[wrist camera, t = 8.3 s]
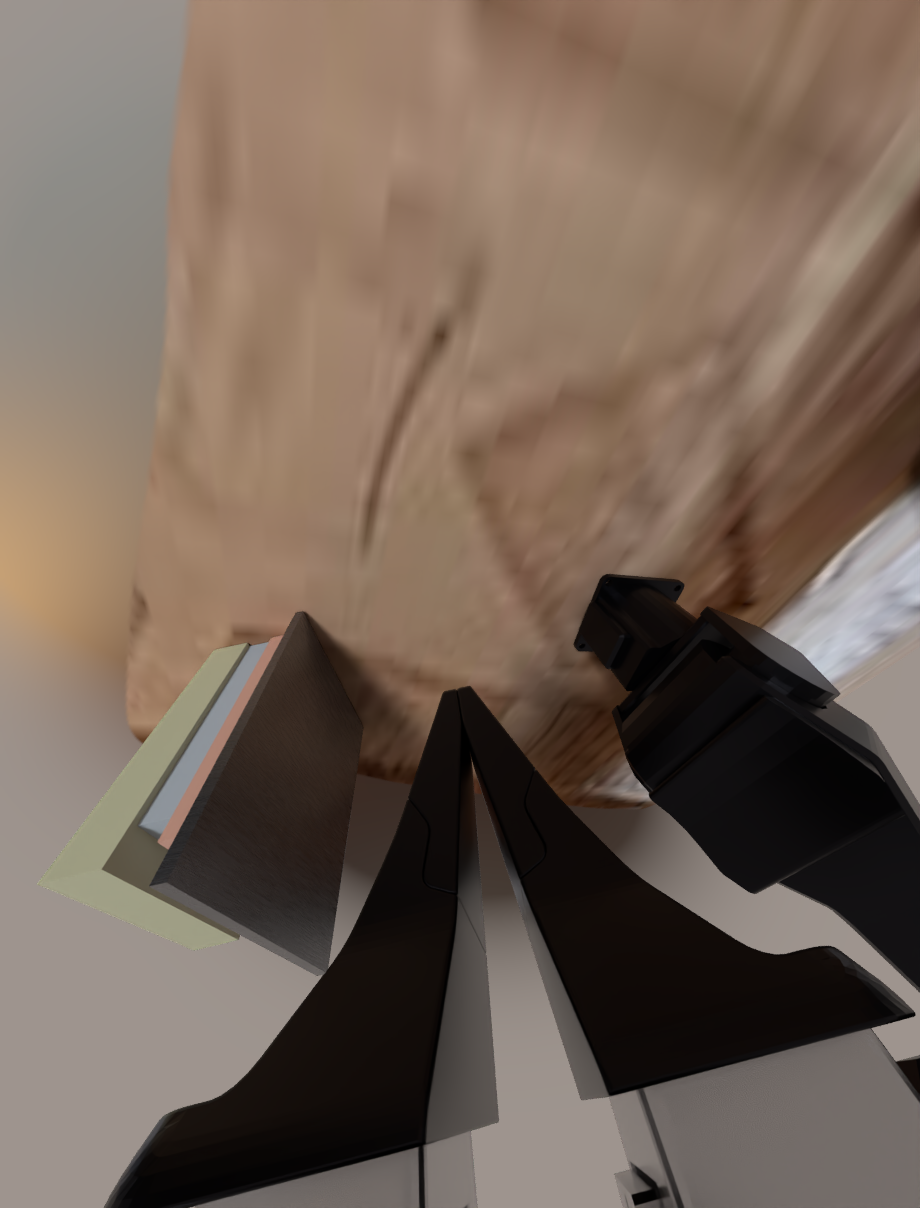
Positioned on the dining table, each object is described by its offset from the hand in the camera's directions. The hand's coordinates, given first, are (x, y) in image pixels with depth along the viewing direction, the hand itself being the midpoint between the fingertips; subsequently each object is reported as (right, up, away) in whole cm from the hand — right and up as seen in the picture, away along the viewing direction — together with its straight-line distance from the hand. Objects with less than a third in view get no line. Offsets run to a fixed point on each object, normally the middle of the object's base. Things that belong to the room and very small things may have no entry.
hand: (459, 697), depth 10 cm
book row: (-13, -3, +14) cm, 19 cm away
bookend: (-9, -2, +14) cm, 17 cm away
